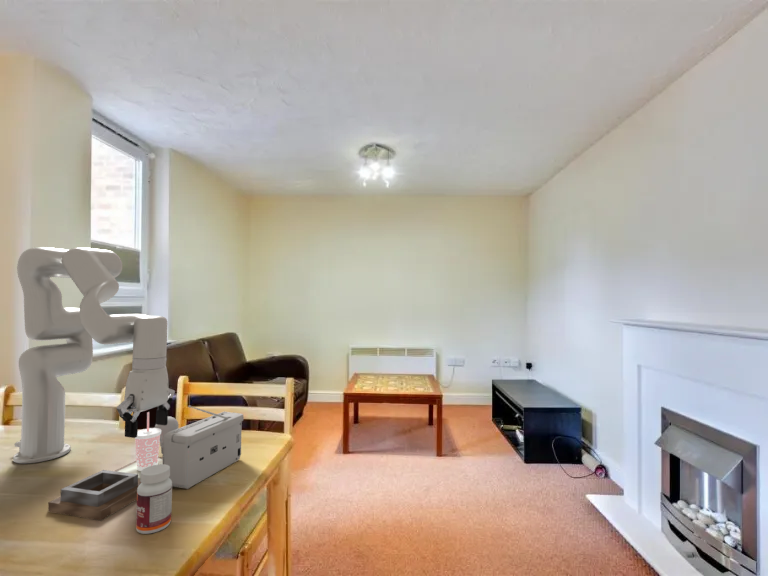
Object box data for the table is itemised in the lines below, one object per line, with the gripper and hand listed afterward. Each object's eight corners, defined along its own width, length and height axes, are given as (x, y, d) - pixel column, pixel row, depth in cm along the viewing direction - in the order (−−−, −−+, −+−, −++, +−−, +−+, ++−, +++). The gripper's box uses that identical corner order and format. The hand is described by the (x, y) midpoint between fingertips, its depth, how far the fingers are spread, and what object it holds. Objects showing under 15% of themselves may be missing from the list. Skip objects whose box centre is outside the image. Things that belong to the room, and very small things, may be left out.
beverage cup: (131, 474, 98) (132, 417, 98) (134, 464, 103) (135, 410, 104) (160, 469, 101) (161, 413, 101) (161, 460, 106) (162, 407, 106)
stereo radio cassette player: (222, 455, 116) (223, 386, 116) (245, 459, 113) (246, 388, 113) (160, 487, 96) (161, 404, 97) (186, 493, 93) (188, 407, 94)
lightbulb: (167, 459, 112) (168, 420, 112) (149, 458, 113) (149, 419, 114) (182, 451, 118) (183, 414, 118) (164, 450, 119) (165, 413, 120)
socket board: (48, 511, 85) (48, 490, 85) (146, 462, 110) (147, 446, 110) (101, 520, 82) (101, 498, 82) (190, 468, 107) (190, 451, 107)
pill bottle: (131, 526, 79) (132, 469, 80) (164, 514, 84) (165, 460, 84) (142, 539, 75) (144, 479, 76) (176, 525, 80) (177, 468, 80)
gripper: (162, 358, 112) (160, 419, 111) (107, 368, 95) (104, 440, 95) (185, 359, 110) (183, 421, 110) (133, 370, 93) (130, 444, 93)
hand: (146, 430), depth 102 cm, fingers open, 9 cm apart
